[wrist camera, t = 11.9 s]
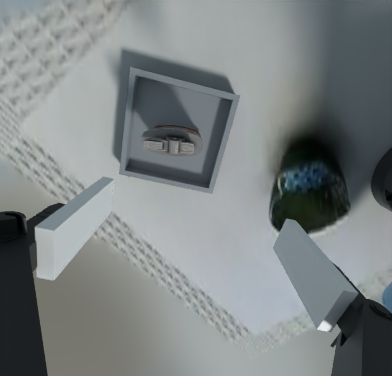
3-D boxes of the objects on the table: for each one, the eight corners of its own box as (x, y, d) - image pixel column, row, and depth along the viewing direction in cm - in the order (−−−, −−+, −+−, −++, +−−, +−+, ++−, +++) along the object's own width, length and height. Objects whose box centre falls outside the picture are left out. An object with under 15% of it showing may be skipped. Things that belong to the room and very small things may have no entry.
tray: (236, 96, 32) (240, 95, 29) (210, 187, 38) (212, 193, 35) (135, 70, 31) (130, 66, 28) (124, 168, 36) (119, 174, 34)
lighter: (202, 127, 33) (206, 136, 24) (200, 148, 34) (202, 164, 25) (152, 121, 33) (135, 128, 23) (151, 143, 34) (135, 157, 25)
